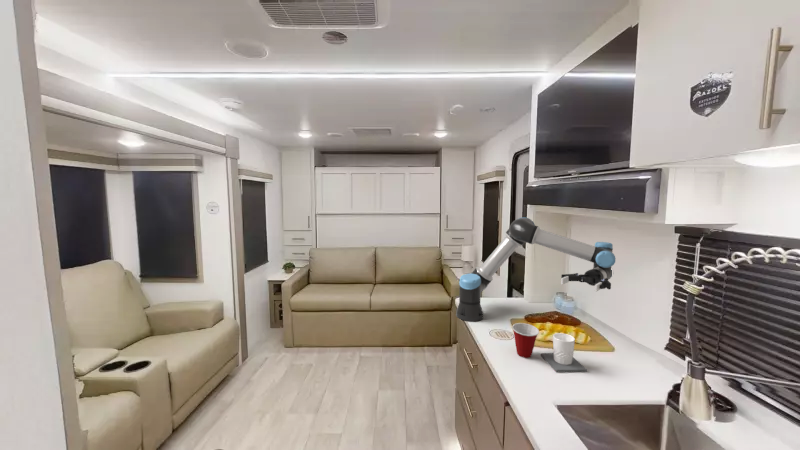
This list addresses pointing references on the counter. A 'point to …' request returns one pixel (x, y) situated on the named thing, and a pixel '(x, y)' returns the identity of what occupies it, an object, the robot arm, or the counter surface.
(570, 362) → the white cup
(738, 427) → the counter surface
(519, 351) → the plastic cup
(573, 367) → the charcoal mat
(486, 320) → the counter surface
